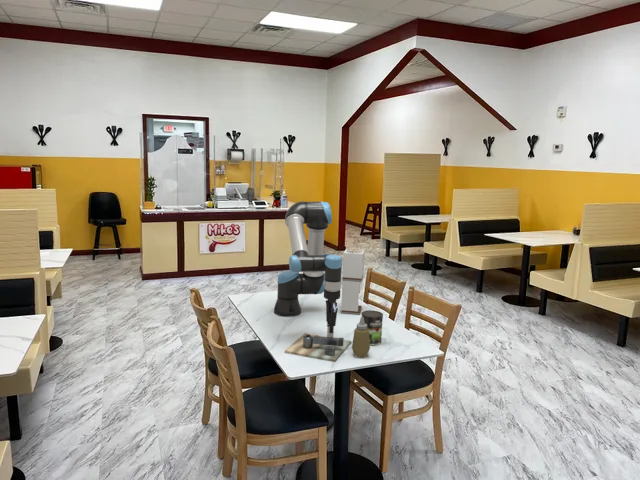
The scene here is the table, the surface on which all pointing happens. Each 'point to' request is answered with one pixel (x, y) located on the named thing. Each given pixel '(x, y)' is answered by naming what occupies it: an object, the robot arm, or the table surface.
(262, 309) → the table surface
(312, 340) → the latch bar
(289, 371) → the table surface
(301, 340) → the plate
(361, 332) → the squeeze bottle
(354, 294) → the white square tower
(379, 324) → the coffee can
